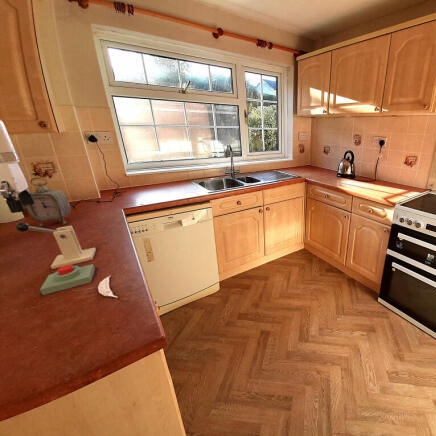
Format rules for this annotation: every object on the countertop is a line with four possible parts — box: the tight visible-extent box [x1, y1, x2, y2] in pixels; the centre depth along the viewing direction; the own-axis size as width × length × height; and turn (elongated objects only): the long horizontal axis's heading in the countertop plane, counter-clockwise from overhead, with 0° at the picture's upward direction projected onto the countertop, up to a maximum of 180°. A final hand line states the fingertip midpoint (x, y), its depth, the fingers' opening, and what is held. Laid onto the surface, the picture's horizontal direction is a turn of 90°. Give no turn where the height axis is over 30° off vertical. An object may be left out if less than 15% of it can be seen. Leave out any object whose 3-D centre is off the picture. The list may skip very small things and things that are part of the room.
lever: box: [15, 221, 71, 234], centre depth 88 cm, size 14×3×3 cm, turn 120°
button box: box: [39, 263, 96, 296], centre depth 81 cm, size 12×9×4 cm
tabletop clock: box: [24, 177, 72, 228], centre depth 125 cm, size 14×9×25 cm, turn 102°
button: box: [57, 264, 74, 275], centre depth 80 cm, size 4×4×2 cm
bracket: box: [50, 225, 97, 270], centre depth 93 cm, size 12×9×13 cm
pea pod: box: [97, 275, 119, 299], centre depth 76 cm, size 15×4×2 cm, turn 39°
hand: (23, 208), depth 85 cm, fingers open, 9 cm apart
